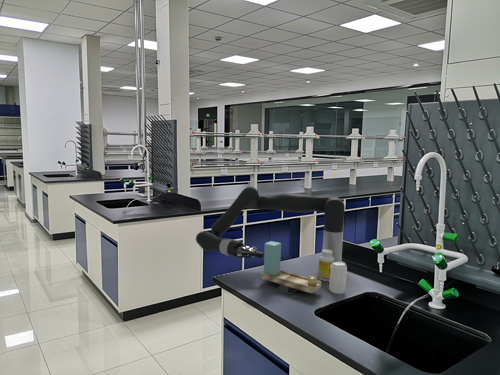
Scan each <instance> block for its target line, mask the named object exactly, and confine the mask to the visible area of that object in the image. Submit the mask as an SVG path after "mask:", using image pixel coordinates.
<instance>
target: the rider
mask: <svg viewBox="0 0 500 375" xmlns="http://www.w3.org/2000/svg"><path fill="white" fill-rule="evenodd" d="M263 254H264V256H263V263H264V264H263V273H266V274H270V275H273V276H275V275H277V274H279V273H280V270H281V262H282V261H281V259H282V257H281V254H282V243H281V242H277V241H272V240H270V241H267V242H265V243H264V251H263Z"/></svg>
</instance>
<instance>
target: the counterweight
mask: <svg viewBox="0 0 500 375" xmlns="http://www.w3.org/2000/svg"><path fill="white" fill-rule="evenodd" d="M307 277H308V286H311V287H316V286H317V280H318V276H314V275H309V276H307Z"/></svg>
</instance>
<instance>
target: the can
mask: <svg viewBox="0 0 500 375" xmlns="http://www.w3.org/2000/svg"><path fill="white" fill-rule="evenodd" d="M347 272H348V267H347V263H346V262H344V261H343V260H341V261H332V264H331V267H330V281H329V286H328V290H329V292H330V293H331V294H335V295H343V294H345V293H346V289H347V288H346V286H347Z"/></svg>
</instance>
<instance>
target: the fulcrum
mask: <svg viewBox="0 0 500 375" xmlns="http://www.w3.org/2000/svg"><path fill="white" fill-rule="evenodd" d="M275 290H276V291H277V290H278V291H277V292H280V291H281V293H284V294H287V295H290V296H291V295H293V293H296V292H297V291H299V289H295V288H292V287H289V286H285V285H282V284H280V285H279V286H277V287H276V288H275Z"/></svg>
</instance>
